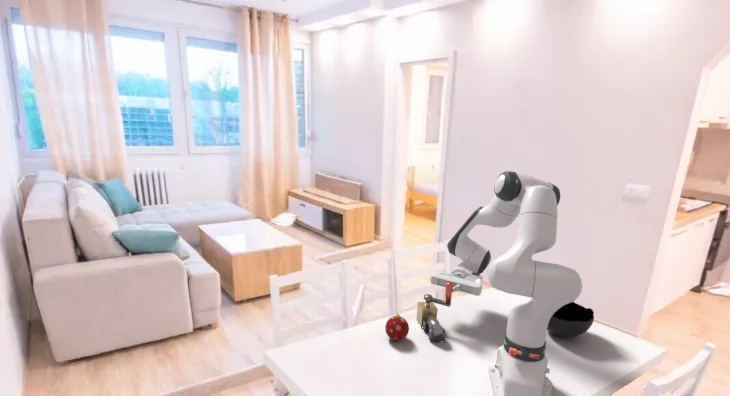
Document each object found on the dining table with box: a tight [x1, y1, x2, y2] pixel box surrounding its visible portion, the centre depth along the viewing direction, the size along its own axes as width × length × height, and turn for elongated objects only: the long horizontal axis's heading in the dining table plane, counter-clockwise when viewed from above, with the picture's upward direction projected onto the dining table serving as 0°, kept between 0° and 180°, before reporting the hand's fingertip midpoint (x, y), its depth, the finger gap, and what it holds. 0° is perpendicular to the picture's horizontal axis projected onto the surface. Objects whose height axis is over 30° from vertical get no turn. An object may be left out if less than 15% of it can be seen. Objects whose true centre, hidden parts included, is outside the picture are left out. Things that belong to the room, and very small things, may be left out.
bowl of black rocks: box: [547, 301, 595, 338], centre depth 146 cm, size 20×20×19 cm
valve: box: [416, 301, 447, 343], centre depth 144 cm, size 16×6×10 cm, turn 11°
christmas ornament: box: [384, 313, 410, 342], centre depth 138 cm, size 9×9×10 cm
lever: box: [423, 282, 453, 308], centre depth 146 cm, size 11×3×10 cm, turn 57°
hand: (449, 289), depth 144 cm, fingers closed, pressing on lever
